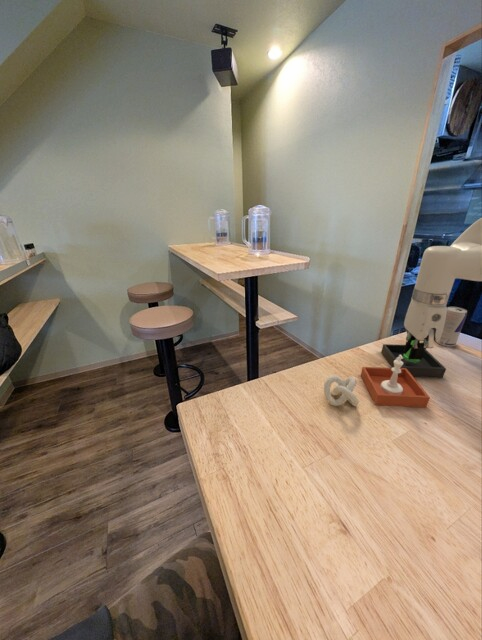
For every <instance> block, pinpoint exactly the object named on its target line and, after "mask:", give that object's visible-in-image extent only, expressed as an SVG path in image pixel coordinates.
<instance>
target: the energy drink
mask: <svg viewBox="0 0 482 640" xmlns="http://www.w3.org/2000/svg"><path fill="white" fill-rule="evenodd" d="M446 307H447V306H446ZM467 316H468V310H467V309H465V308H463V307H460V306H459V307H458V306H448V307H447V312H446V319H445V324H444V328H443V332H442V335H441V338H440V341H439V342H436V343H437V345H440V346H442V347H446V348H452V347H455V346H456V345H457V342H458V341H459V337H460V334H461V331H462V330H463V326H464V324H465V321H466V319H467Z"/></svg>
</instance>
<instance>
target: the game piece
mask: <svg viewBox="0 0 482 640" xmlns="http://www.w3.org/2000/svg"><path fill="white" fill-rule="evenodd" d="M414 342H415V340H412V341H411V345H412V347H414ZM419 343H421V341H420V342H419ZM410 350H411V348H410V349H409V351H408V352H407V353H406V354H405V353H404V355H403V357H404V359H406V360H407V361H410V362H415V363H416V362H420V359H410V360H409V358H408V357H409V354H410Z"/></svg>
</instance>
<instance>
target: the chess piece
mask: <svg viewBox="0 0 482 640" xmlns="http://www.w3.org/2000/svg"><path fill="white" fill-rule="evenodd" d="M401 359H403V357H402V355H399V357H397V358H396V360H394V367H393V368H392V367H391V368H392V369H391V370H392V371H393V374H392V376H391V379H390V380H385V381H383V382H382V383H381V385H380V386H381V388H382V390H384V391H385V392H387V393H389V394H399V395H400V394H402V392H403V388H402V386H401V385H400V384H398V383H397V377H398V373H401V370H400V367H401V366H402V365H403V362H402V361H401Z"/></svg>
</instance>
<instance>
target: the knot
mask: <svg viewBox="0 0 482 640" xmlns="http://www.w3.org/2000/svg"><path fill="white" fill-rule="evenodd" d="M333 383H336V384H337V385H336V386H335V387H334V388H333V389H332V391H331V387H332V385H333ZM356 385H357V379H356V378H355V377H354V376H349V377H347V378H345V379H344V380H343V379H342V378H341V377H339V376H338V375H331V376H329V377H328V378H327V379H325V382H324V385H323V394H324V397H325V399H326V401H327V403H329V404H330V405H332V406H335V407H339V406H341V405H344V404H345V403H346V402H347V401H348V402H349V403H350V404H351V405H352V406H354V407H357V406H358V405H359V403H360V402H359V399H358V398H357V396H356V395H355V393H353V391H354V389H355V387H356ZM331 393H332V394H331ZM340 393H341V395H340V397H339V398H337V399H335V398H334V397H333V396H338V395H339V394H340ZM332 395H333V396H332Z"/></svg>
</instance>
